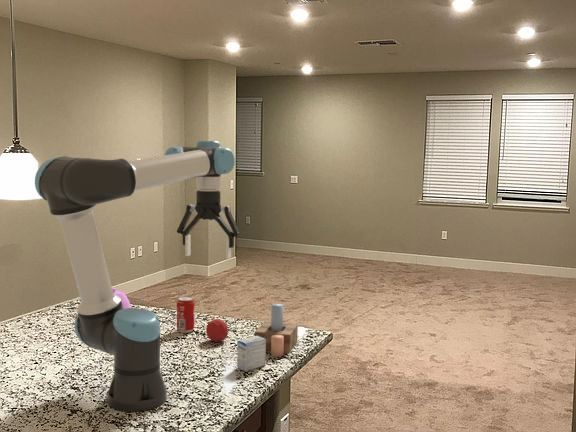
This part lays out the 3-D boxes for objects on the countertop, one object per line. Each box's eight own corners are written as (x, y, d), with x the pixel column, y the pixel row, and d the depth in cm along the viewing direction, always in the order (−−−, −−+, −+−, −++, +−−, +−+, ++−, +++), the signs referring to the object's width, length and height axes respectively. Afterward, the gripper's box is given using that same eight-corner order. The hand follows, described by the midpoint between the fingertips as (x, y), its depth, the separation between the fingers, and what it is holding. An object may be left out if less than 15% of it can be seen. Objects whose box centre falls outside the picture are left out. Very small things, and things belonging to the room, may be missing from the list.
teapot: (101, 323, 233) (101, 295, 232) (89, 311, 250) (88, 285, 249) (138, 319, 240) (138, 292, 239) (123, 307, 257) (123, 281, 256)
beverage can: (197, 330, 227) (198, 298, 225) (186, 334, 222) (186, 301, 220) (184, 327, 230) (184, 295, 229) (173, 331, 225) (173, 298, 224)
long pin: (281, 347, 209) (281, 306, 208) (269, 346, 210) (270, 306, 208) (283, 344, 213) (284, 304, 211) (272, 343, 214) (273, 303, 212)
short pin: (281, 357, 200) (282, 339, 199) (269, 356, 201) (270, 338, 200) (284, 353, 204) (284, 335, 203) (272, 352, 205) (273, 334, 204)
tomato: (208, 319, 210) (225, 311, 216) (198, 329, 215) (214, 320, 221) (221, 339, 208) (237, 331, 214) (210, 349, 214) (226, 340, 219)
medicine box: (256, 362, 195) (256, 335, 194) (265, 365, 192) (266, 338, 191) (236, 368, 189) (237, 340, 189) (246, 372, 186) (246, 343, 185)
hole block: (289, 352, 204) (290, 334, 204) (254, 349, 207) (254, 331, 206) (297, 341, 216) (297, 324, 215) (263, 338, 219) (263, 321, 218)
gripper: (250, 190, 197) (249, 256, 199) (175, 187, 202) (176, 252, 205) (243, 192, 190) (242, 261, 192) (166, 189, 195) (166, 256, 198)
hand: (208, 256), depth 199 cm, fingers open, 13 cm apart
